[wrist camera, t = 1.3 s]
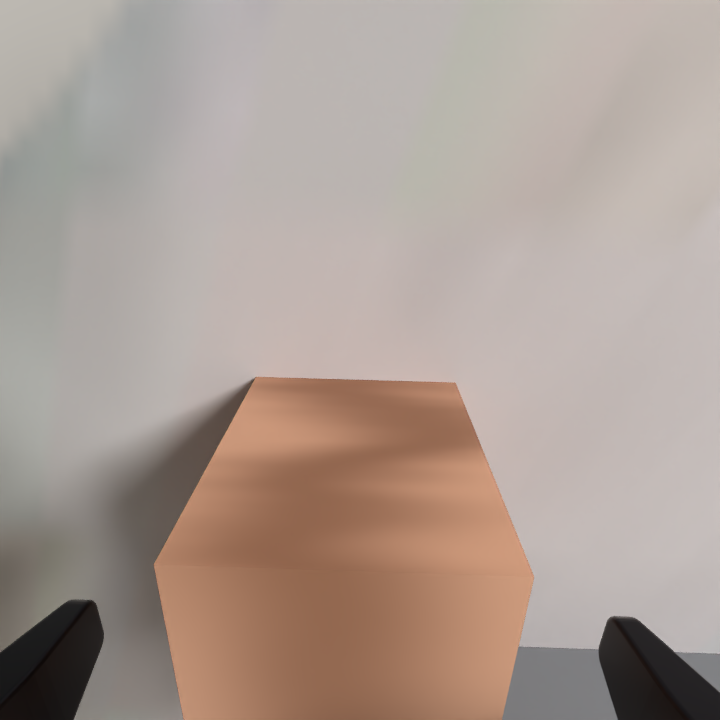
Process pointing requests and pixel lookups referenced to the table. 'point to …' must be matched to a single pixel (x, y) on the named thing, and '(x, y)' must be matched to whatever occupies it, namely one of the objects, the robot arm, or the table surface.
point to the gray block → (574, 684)
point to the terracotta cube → (345, 561)
